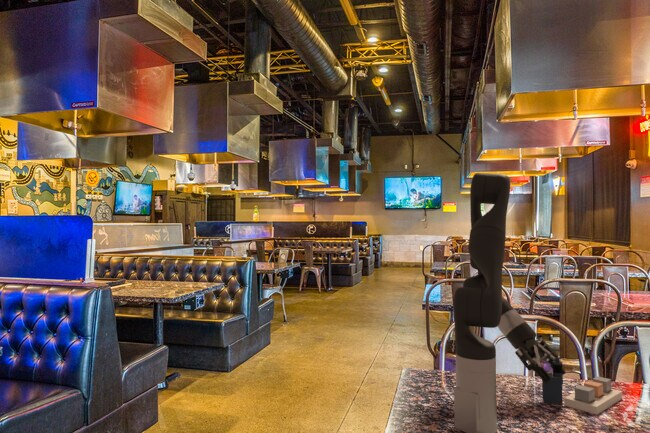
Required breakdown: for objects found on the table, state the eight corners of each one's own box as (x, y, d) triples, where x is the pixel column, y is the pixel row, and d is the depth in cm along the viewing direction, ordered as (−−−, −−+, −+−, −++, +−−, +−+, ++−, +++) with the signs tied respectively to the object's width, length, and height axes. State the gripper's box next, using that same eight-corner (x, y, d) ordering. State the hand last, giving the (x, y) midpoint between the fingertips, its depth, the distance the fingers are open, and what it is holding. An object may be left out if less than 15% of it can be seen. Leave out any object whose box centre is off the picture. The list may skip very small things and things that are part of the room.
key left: (589, 402, 116) (588, 391, 116) (574, 398, 118) (574, 387, 119) (594, 399, 118) (594, 388, 118) (580, 395, 121) (580, 385, 121)
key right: (606, 392, 123) (606, 381, 123) (592, 388, 126) (592, 378, 126) (611, 389, 125) (611, 379, 126) (597, 386, 128) (597, 376, 128)
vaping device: (564, 404, 120) (563, 360, 120) (544, 403, 121) (543, 358, 121) (561, 401, 122) (560, 357, 123) (541, 399, 124) (540, 356, 124)
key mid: (598, 397, 120) (597, 386, 120) (584, 393, 122) (583, 383, 122) (603, 394, 122) (602, 383, 122) (589, 390, 124) (589, 380, 125)
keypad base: (596, 414, 113) (596, 406, 113) (564, 405, 119) (564, 397, 119) (622, 398, 124) (622, 391, 124) (591, 390, 131) (591, 383, 131)
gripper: (511, 324, 124) (554, 375, 115) (535, 318, 133) (577, 365, 124) (494, 340, 128) (534, 390, 119) (518, 333, 137) (558, 379, 128)
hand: (556, 377), depth 121 cm, fingers open, 8 cm apart
